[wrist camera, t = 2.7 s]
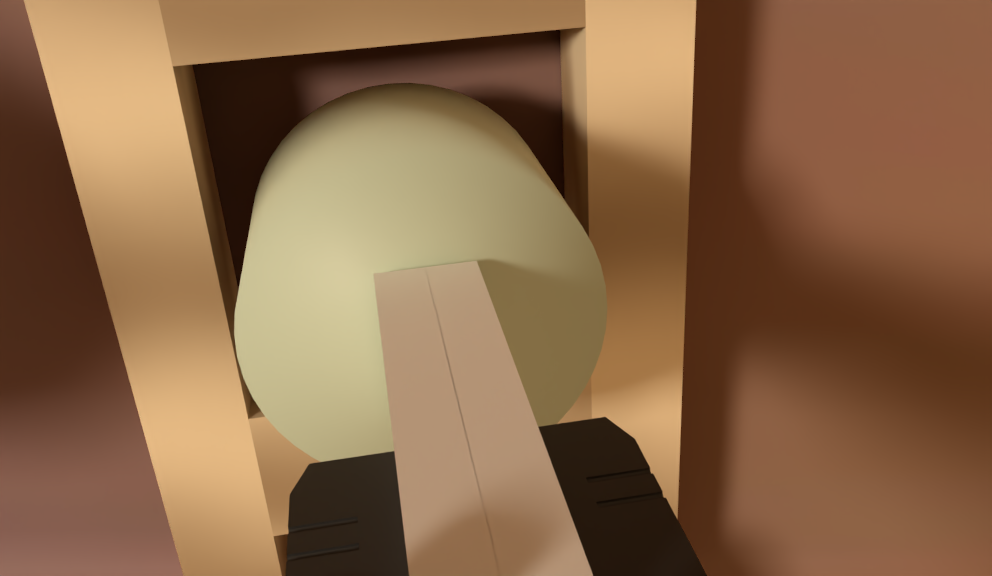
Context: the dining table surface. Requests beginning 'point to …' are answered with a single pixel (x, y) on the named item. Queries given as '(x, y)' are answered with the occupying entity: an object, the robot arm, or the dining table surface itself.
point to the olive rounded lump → (404, 259)
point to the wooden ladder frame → (206, 252)
